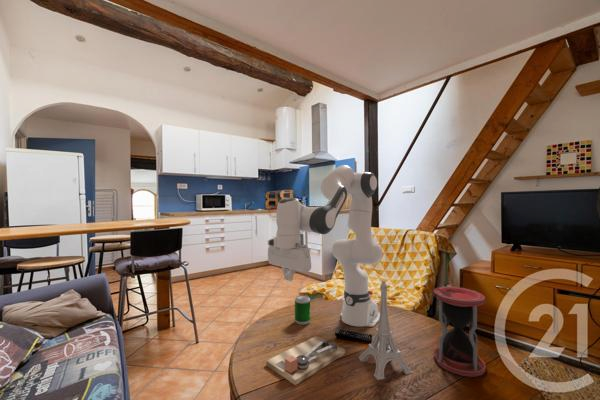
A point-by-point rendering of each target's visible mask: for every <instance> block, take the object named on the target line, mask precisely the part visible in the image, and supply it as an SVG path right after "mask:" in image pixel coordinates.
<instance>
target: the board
mask: <svg viewBox="0 0 600 400" xmlns="http://www.w3.org/2000/svg"><path fill="white" fill-rule="evenodd" d="M322 339H323V338H321V337H319V336H317V335H315V336H313V337H311V338H308V339H307V340H305V341H303V342H301V343H299V344H297V345H295V346H293V347H290V348H289V349H287V350H285V351H283V352H281V353H279V354H277V355H275V356H273V357H271V358H269V359H267V360H266V361H265V365H266V367H268V368H269V369H271V370H272V371H274V372H275V373H276V374H278V375H279V376H281V377H282V378H284V379H285V380H287V381H288V382H289V383H291V384H293V385H294V386H296V385H298V384H300V383H301V382H303V381H304V380H306V379H308V378H309V377H311V376H313V375H314V374H316V373H317V372H319V371H320V370H322V369H324V368H325V367H326V366H328V365H330V364H331V363H333V362H335V361H336V360H338V359H339V358H341V357H342V356H344V355H345V354H346V349H344V348H343V347H342V346H339V345H337V351H335V352H333V353H331V354H329V355H326V356H324V357H322V358H320V359H317V360H315V361H313V362H311V363H309V368H307V369H305V370H299V369H297V370H295V371H294V372H292V373H290V372H288V371H287V370H285V358H287V357H289V356H291V355H292V356H294V357H295V358H297V356H300V355H305V354H307V353H308V352H309V351H310V350H311V349H312V348H313V347H314V346H315V345H316V344H318V343H319V342H320V341H321V340H322ZM329 343H331V342H330V341H329ZM323 348H324V347H323ZM311 357H313V355H311V356H310V357H309V358H311ZM309 358H308V359H309Z"/></svg>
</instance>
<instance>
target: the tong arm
mask: <svg viewBox="0 0 600 400" xmlns="http://www.w3.org/2000/svg"><path fill="white" fill-rule="evenodd" d="M329 342H330V341H329V340H328V339H326V338H322V340H321V341H320V342H319V343H318V344H316V345H315V346H314V347H313V348H312V349H311V350H310V351H309V352H308V353H307V354H305V355H300V356H297V364H298V365H306V364H307V363H308V358H309V357H310V356H311V355H313V356H315V355H316V351H318V350H320V349H322V348H323V347H324V348H325V347H327V346H328V344H329Z"/></svg>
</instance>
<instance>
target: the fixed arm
mask: <svg viewBox="0 0 600 400" xmlns="http://www.w3.org/2000/svg"><path fill="white" fill-rule="evenodd" d="M337 346H338V344H337V343H336V342H333V341H332V342H330V343H329V344H328V346H327V347H325V348H322V349H320V350H318V351H316V355H315V356H313V357H311V358H309V359H308V363H307V364H306V365H298V364H297V369H299V370H305V369H307V368H309V363H311V362H313V361H315V360H317V359H320V358H322V357H324V356H326V355H329V354H331V353H333V352H335V351H337Z"/></svg>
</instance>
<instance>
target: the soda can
mask: <svg viewBox="0 0 600 400" xmlns="http://www.w3.org/2000/svg"><path fill="white" fill-rule="evenodd" d="M294 322H295V323H296V324H297V325H301V326H304V325H305V326H306V325H308V324H309V323H310V322H311V298H310V297H309V295H305V294H301V295H297V296H296V297H295V298H294Z"/></svg>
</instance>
